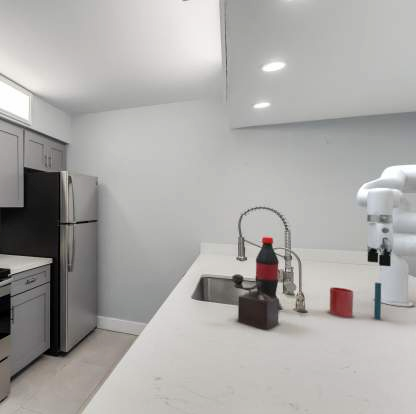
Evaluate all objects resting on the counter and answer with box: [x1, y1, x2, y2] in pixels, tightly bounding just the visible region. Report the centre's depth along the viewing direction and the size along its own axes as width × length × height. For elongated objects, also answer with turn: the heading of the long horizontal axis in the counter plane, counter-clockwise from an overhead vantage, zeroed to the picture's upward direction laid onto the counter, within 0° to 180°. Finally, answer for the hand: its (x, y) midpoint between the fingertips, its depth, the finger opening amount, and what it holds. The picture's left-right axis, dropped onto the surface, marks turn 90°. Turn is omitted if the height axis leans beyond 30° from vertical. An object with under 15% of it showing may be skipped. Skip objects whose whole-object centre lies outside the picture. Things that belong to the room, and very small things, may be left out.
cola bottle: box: [255, 236, 280, 298], centre depth 132 cm, size 8×8×30 cm
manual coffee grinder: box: [231, 273, 280, 331], centre depth 113 cm, size 16×11×18 cm
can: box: [329, 287, 354, 319], centre depth 126 cm, size 7×7×10 cm
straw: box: [373, 282, 382, 320], centre depth 122 cm, size 2×2×14 cm
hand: (378, 263), depth 122 cm, fingers open, 9 cm apart
